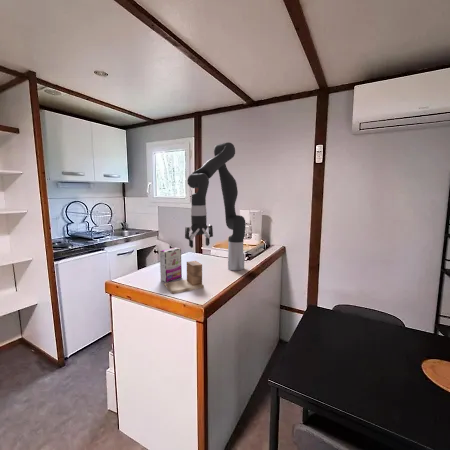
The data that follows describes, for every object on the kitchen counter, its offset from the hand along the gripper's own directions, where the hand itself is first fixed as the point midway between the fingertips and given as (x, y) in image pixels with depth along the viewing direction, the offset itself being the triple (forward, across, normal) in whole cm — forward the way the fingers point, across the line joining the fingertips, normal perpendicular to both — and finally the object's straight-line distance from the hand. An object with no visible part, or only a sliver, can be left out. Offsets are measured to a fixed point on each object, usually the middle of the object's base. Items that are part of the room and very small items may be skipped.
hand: (199, 246), depth 129 cm
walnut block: (+18, +3, 0) cm, 18 cm away
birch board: (+19, +9, 0) cm, 21 cm away
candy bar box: (+20, +11, -14) cm, 26 cm away
